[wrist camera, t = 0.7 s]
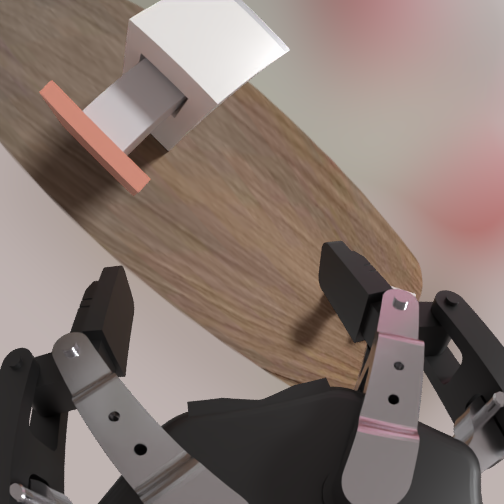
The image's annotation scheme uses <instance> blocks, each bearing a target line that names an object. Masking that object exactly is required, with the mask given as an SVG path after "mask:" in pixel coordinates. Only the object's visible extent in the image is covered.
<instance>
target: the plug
mask: <svg viewBox="0 0 504 504" xmlns="http://www.w3.org/2000/svg"><path fill="white" fill-rule="evenodd" d="M39 93H40V94H41V96H42V97H43V99H44V100H45V101H46V103H47V104H48V106H49V107H50V109H51V110H52V112H53V113H54V114H55V116H56V117H57V119H58V120H59V122H60V123H61V124H62V126H63V127H64V128H65V129H66V130H67V131H68V132H69V133H70V134H71V135H72V136H73V137H74V138H75V139H76V140H77V141H78V142H79V143H80V144H81V145H82V146H83V147H84V148H85V149H86V150H87V151H88V152H89V153H90V154H91V155H92V156H93V157H94V158H95V159H96V160H97V161H98V162H99V163H100V164H101V165H102V166H103V167H104V168H105V169H106V170H107V171H108V172H109V173H110V174H111V175H112V176H113V177H114V178H115V179H116V180H117V181H118V182H119V183H120V184H121V185H122V186H123V187H124V188H125V189H126V190H127V191H129V192H130V193H131V194H132V195H133V196H134V195H136V194H137V193H139V191H140V190H141V189H142V188H143V187H144V186H145V185H146V184H147V183H148V182H149V181H150V180H151V179H150V178H149V177H148V176H147V175H146V174H145V173H144V172H143V171H142V170H141V169H140V168H139V167H138V166H137V165H136V164H135V163H134V162H133V161H132V160H131V159H130V158H129V157H128V155H129V154H130V153H131V152H132V151H133V150H134V149H135V148H136V147H137V146H138V145H139V144H140V143H141V142H142V141H143V140H144V139H145V138H146V137H147V136H148V135H149V134H150V133H151V132H152V131H153V130H154V129H156V128H157V127H158V126H159V125H160V124H161V123H162V122H163V121H164V120H165V119H167V118H168V117H169V116H170V115H171V114H172V113H173V112H175V111H176V110H177V109H178V108H179V107H180V106H181V105H182V104H183V102H184V101H185V100H186V98H187V97H186V96H185V95H184V94H183V93H182V92H181V91H180V90H179V89H178V88H177V87H176V86H175V85H174V84H173V83H172V82H171V81H170V80H169V79H168V78H167V77H166V76H165V75H164V74H163V73H161V72H160V71H159V70H158V69H157V68H156V67H155V66H154V65H153V64H152V63H151V62H150V61H149V60H148V59H147V58H145V59H143V60H142V61H141V62H139V63H138V64H137V65H135V66H134V67H133V68H131V69H130V70H129V71H128V72H126V73H125V74H124V75H123V76H121V77H120V78H119V79H118V80H117V81H115V82H114V83H113V84H112V85H111V86H109V87H108V88H107V89H106V90H105V91H104V92H103V93H101V94H100V95H99V96H98V97H97V98H96V99H95V100H94V101H93V102H92V103H90V104H89V105H88V106H87V107H86V108H85V109H84V110H83V111H82V110H81V109H80V108H79V107H78V106H77V105H76V104H75V103H74V102H73V101H72V100H71V99H70V98H69V97H68V96H67V95H66V94H65V93H64V92H63V91H62V90H61V89H60V88H59V87H58V86H57V85H56V84H55V83H54V82H53V81H52V80H51V81H50V82H49V83H48V84H47V85H46V86H45V87H44V88H43V89H42V90H41V91H40V92H39Z"/></svg>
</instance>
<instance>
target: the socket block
mask: <svg viewBox="0 0 504 504" xmlns="http://www.w3.org/2000/svg"><path fill="white" fill-rule="evenodd" d="M289 50H290V49H289V48H288V47H287V46H286V45H285V44H284V43H283V41H282V40H281V39H280V38H279V37H278V36H277V35H276V34H275V33H274V32H273V31H272V30H271V29H270V28H269V27H268V26H267V25H266V23H264V22H263V20H262V19H261V18H259V16H257V15H256V14H255V13H254V12H253V11H252V10H251V9H250V8H249V7H248V6H247V5H246V4H245V3H244V2H243V1H242V0H162V1H160V2H158V3H156V4H154V5H152V6H150V7H149V8H147V9H145V10H143V11H142V12H140V13H138V14H137V15H135V16H134V17H132V18H130V19H129V24H128V31H127V38H126V47H125V56H124V66H123V75H124V74H125V73H126V72H128V71H129V70H130V69H131V68H133V67H134V66H135V65H137V64H138V63H139V62H141V61H142V60H143V59H145V58H147V59H148V60H149V61H150V62H151V63H152V64H153V65H154V66H155V67H156V68H157V69H158V70H159V71H160V72H161V73H163V74H164V75H165V76H166V77H167V78H168V79H169V80H170V81H171V82H172V83H173V84H174V85H175V86H176V87H177V88H178V89H179V90H180V91H181V92H182V93H183V94H184V95H185V96H186V97H187V98H186V100H185V101H184V102H183V104H182V105H181V106H180V107H179V108H178V109H177V110H176V111H175V112H173V113H172V114H171V115H170V116H169V117H168V118H167V119H165V120H164V121H163V122H162V123H161V124H160V125H159V126H158V127H157V128H156V129H154V130H153V131H152V132H151V134H152V135H153V136H154V137H155V138H156V139H157V140H158V141H159V142H160V143H161V144H162V145H163V146H164V147H165V148H166V149H167V150H168V151H170V150H171V149H172V148H173V147H174V146H175V145H176V144H177V143H178V142H179V141H180V140H181V139H182V138H183V137H184V136H186V135H187V134H188V133H189V132H190V131H191V130H192V129H193V128H194V127H195V126H196V125H198V124H199V123H200V122H201V121H202V120H203V119H204V118H205V117H207V116H208V115H209V114H210V113H211V112H212V111H213V110H215V109H216V108H217V107H218V106H219V105H220V104H221V103H223V102H224V101H225V100H226V99H227V98H228V97H230V96H231V95H232V94H233V93H234V92H236V91H237V90H238V89H239V88H240V87H242V86H243V85H244V84H245V83H247V82H248V81H249V80H250V79H252V78H253V77H254V76H255V75H257V74H258V73H259V72H261V71H262V70H263V69H264V68H266V67H267V66H268V65H270V64H271V63H272V62H274V61H275V60H277V59H278V58H279V57H281V56H282V55H283V54H285V53H286V52H288V51H289Z"/></svg>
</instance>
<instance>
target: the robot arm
mask: <svg viewBox="0 0 504 504" xmlns="http://www.w3.org/2000/svg"><path fill="white" fill-rule="evenodd" d="M319 284H320V287H321V289H322V291H323V292H324V294H325V295H326V297H327V299H328V300H329V302H330V304H331V305H332V307H333V308H334V310H335V312H336V313H337V315H338V317H339V318H340V320H341V321H342V323H343V325H344V326H345V328H346V330H347V331H348V333H349V335H350V336H351V338H352V340H353V341H354V343H356V342H360V341H363V340H365V341H366V342H367V345H366V348H365V352H364V356H363V360H362V364H361V367H360V371H359V375H358V379H357V382H356V385H355V388H354V390H352V389H349V388H343V387H330V386H329V383H328V381H327V379H326V378H323V379H319V380H315V381H311V382H307V383H302V384H298V385H294V386H292V387H289V388H288V389H285V390H283V391H281V392H279V393H276V394H274V395H272V396H269V397H267V398H265V399H262V400H246V399H230V398H219V399H210V400H201V401H192V402H187V403H188V412H186V413H183V414H181V415H178V416H176V417H174V418H173V419H171V420H169V421H168V422H166V423H165V424H164V425H162V426H160V425H159V424H158V423H157V422H156V421H155V420H154V419H153V418H152V417H151V415H150V414H149V413H148V412H147V411H146V410H145V409H144V408H143V406H142V405H141V404H140V403H139V402H138V401H137V399H136V398H135V397H134V396H133V395H132V394H131V392H130V391H129V390H128V389H127V387H126V386H125V385H124V384H123V382H122V381H121V380H120V379H119V377H125V375H126V366H127V357H128V350H129V342H130V335H131V328H132V322H133V315H134V302H133V297H132V294H131V290H130V287H129V284H128V280H127V277H126V274H125V271H124V268H123V266H114V267H105V268H104V269H103V271H102V273H101V276H100V279H99V281H94V282H93V283H92V284H91V285H90V286H89V287H88V288H87V289H86V291H85V293H84V296H83V299H82V301H81V304H80V308H79V309H78V312H77V315H76V317H75V320H74V323H73V326H72V329H71V332H70V333H68V334H66V335H64V336H62V337H61V338H60V339H58V340H57V342H56V343H55V344H54V347H53V349H52V352H51V353H48V354H45V355H41V356H38V357H35V358H34V356H33V355H32V353H31V352H30V351H29V350H28V349H26V348H18V349H15V350H13V351H12V352H10V353H9V354H8V355H7V356H6V358H5V359H4V361H3V363H2V366H1V369H0V504H72V502H71V501H70V500H69V499H68V497H67V496H65V495H64V462H65V443H66V429H67V420H68V411H71V410H75V409H77V410H78V411H79V413H80V415H81V416H82V418H83V420H84V421H85V423H86V425H87V426H88V428H89V429H90V431H91V433H92V434H93V435H94V437H95V439H96V440H97V441H98V443H99V444H100V446H101V447H102V449H103V450H104V452H105V453H106V454H107V456H108V457H109V459H110V460H111V461H112V463H113V464H114V465H115V467H116V468H117V469H118V471H119V472H120V473H121V474H122V475H121V476H120V478H119V479H118V480H117V481H116V482H115V484H114V485H113V486H112V487H111V488H110V490H109V491H108V492H107V493H106V495H105V496H104V497H103V498H102V499H101V501H100V502H99V503H98V504H483V503H482V496H481V473H482V472H483V471H485V470H486V469H489V468H491V467H493V466H494V465H496V464H497V463H499V462H500V461H501V460H503V459H504V347H503V346H502V344H501V343H500V342H499V341H498V339H497V338H496V337H495V336H494V334H493V333H492V332H491V331H490V330H489V328H488V327H487V326H486V325H485V323H484V322H483V321H482V320H481V319H480V318H479V316H478V315H477V314H476V313H475V312H474V311H473V310H472V308H471V307H470V306H469V305H468V304H467V303H466V302H465V301H464V300H463V298H462V297H461V296H459V295H458V294H456V293H454V292H451V291H440V292H438V293H437V294H436V296H435V299H434V301H433V302H418V300H417V299H416V298H415V296H414V295H412V294H411V293H409V292H407V291H405V290H401V289H393V288H392V287H391V286H390V285H389V284H388V283H387V281H386V280H385V279H384V278H383V277H382V276H381V275H380V274H379V273H378V271H376V269H375V268H374V267H373V266H372V265H370V263H369V262H368V261H367V259H366V258H365V257H364V256H362V255H360V254H358V253H357V252H355V251H351V250H350V249H349V248H348V247H347V246H346V245H345V244H344V242H342V241H334V242H326V243H324V244H323V246H322V251H321V259H320V267H319ZM451 339H452V340H453V341H454V343H455V344H456V345H457V347H458V348H459V349H460V351H461V353H462V357H463V358H462V364H461V365H460V364H459V363H458V361H457V360H456V358H455V357H454V355H453V354H452V352H451V351H450V350H449V348H448V347H447V345H448V343H449V342H450V340H451ZM423 371H424V372H425V374H426V375H427V377H428V379H429V380H430V382H431V384H432V385H433V387H434V389H435V391H436V392H437V394H438V396H439V398H440V399H441V401H442V403H443V405H444V406H445V408H446V410H447V412H448V414H449V415H450V417H451V419H452V421H453V423H454V436H453V437H451V436H449V435H447V434H445V433H443V432H440V431H438V430H436V429H434V428H432V427H429V426H427V425H425V424H423V423H421V422H419V421H418V418H419V410H420V402H421V393H422V382H423V381H422V380H423ZM31 407H32V408H33V409H32V415H31V421H30V427H29V418H30V413H31Z"/></svg>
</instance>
